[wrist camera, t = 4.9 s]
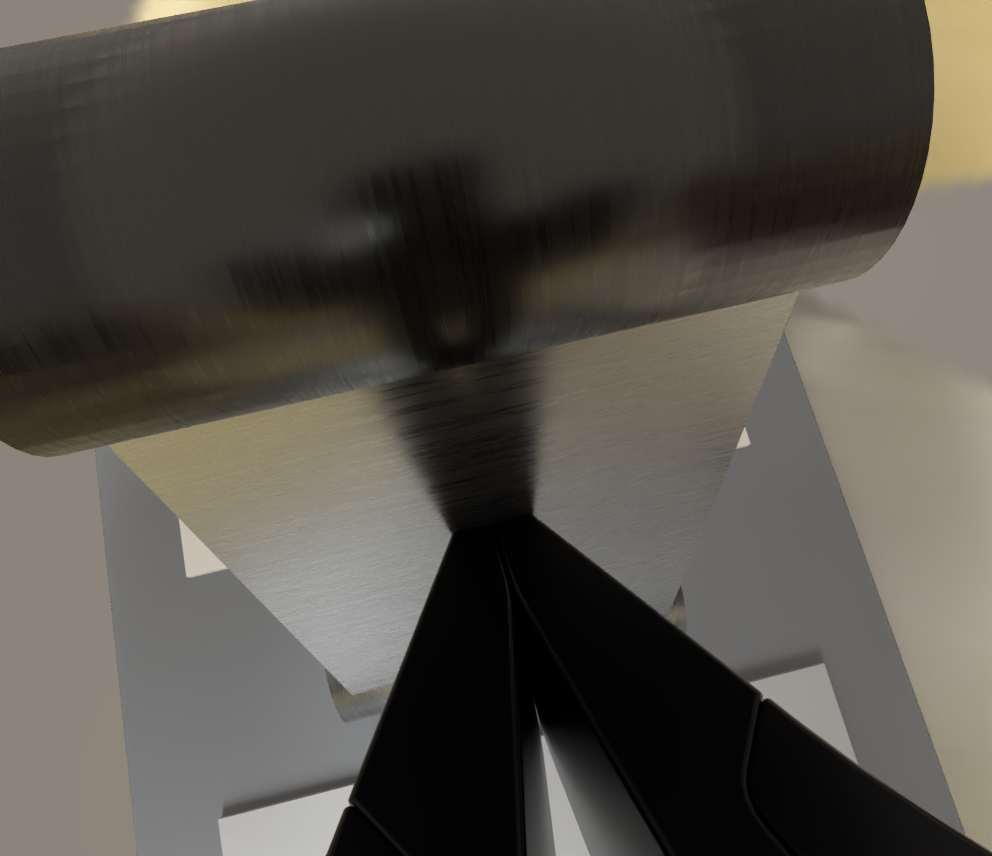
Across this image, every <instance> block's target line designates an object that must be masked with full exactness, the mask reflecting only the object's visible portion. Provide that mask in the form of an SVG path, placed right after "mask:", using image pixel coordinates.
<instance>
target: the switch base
mask: <svg viewBox="0 0 992 856" xmlns="http://www.w3.org/2000/svg"><path fill="white" fill-rule="evenodd" d="M95 457H96V465H97V475H98V485H99V495H100V505H101V514H102V524H103V533H104V542H105V552H106V561H107V572H108V581H109V590H110V600H111V609H112V619H113V629H114V639H115V648H116V658H117V668H118V677H119V686H120V696H121V706H122V715H123V725H124V734H125V744H126V752H127V753H126V754H127V763H128V773H129V782H130V791H131V802H132V811H133V821H134V830H135V839H136V850H137V856H326V854H327V851H328V849H329V846H330V844H331V841H332V839H333V836H334V833H335V831H336V828H337V826H338V823H339V821H340V818H341V815H342V813H343V810H344V809H345V808H346V807H347V806H350V805H349V802H348V799H349V796H350V794H351V791H352V788H353V786H354V783H355V781H356V778H357V776H358V773H359V770H360V768H361V765H362V763H363V760H364V758H365V755H366V753H367V750H368V747H369V745H370V742H371V740H372V737H373V735H374V732H375V730H376V727H377V724H378V722H379V719H380V717H381V715H377V716H373V717H369V718H365V719H361V720H357V721H353V722H349V723H345V722H343V720H342V719H341V718H340V716H339V714H338V712H337V710H336V707H335V705H334V702H333V699H332V696H331V693H330V689H329V685H328V681H327V677H326V672H325V667H324V666H323V665H322V664H321V663H320V662H319V661H318V660H317V659H316V658H315V657H314V656H313V655H312V654H311V653H310V652H309V651H308V650H307V649H306V648H305V647H304V646H303V645H302V644H301V643H300V642H299V640H298V639H297V638H296V637H295V636H294V635H293V634H292V633H291V632H290V631H289V630H288V629H287V628H286V627H285V626H284V625H283V624H282V623H281V622H280V621H279V620H278V619H277V618H276V617H275V616H274V615H273V614H272V613H271V612H270V611H269V610H268V609H267V608H266V607H265V606H264V605H263V604H262V603H261V602H260V601H259V600H258V599H257V598H256V597H255V596H254V595H253V593H252V592H251V591H250V590H249V589H248V588H247V587H246V586H245V585H244V584H243V583H242V582H241V581H240V580H239V579H238V578H237V577H236V576H235V575H234V574H233V573H232V572H231V571H230V570H229V569H228V568H227V567H226V566H225V565H224V564H223V563H222V562H221V561H220V560H219V559H218V558H217V557H216V556H215V555H214V554H213V553H212V552H211V551H210V550H209V549H208V548H207V547H206V545H205V544H204V543H203V542H202V541H201V540H200V539H199V538H198V537H197V536H196V535H195V534H194V533H193V532H192V531H191V530H190V529H189V528H188V527H187V526H186V525H185V524H184V523H183V522H182V521H181V520H180V519H179V518H178V517H177V516H176V515H175V514H174V513H173V512H172V511H171V510H170V509H169V508H168V507H167V506H166V505H165V504H164V503H163V502H162V501H161V500H160V498H159V497H158V496H157V495H156V494H155V493H154V492H153V491H152V490H151V489H150V488H149V487H148V486H147V485H146V484H145V483H144V482H143V481H142V480H141V479H140V478H139V477H138V476H137V475H136V474H135V473H134V472H133V471H132V470H131V469H130V468H129V467H128V466H127V465H126V464H125V463H124V462H123V461H122V460H121V459H120V458H119V457H118V456H117V455H116V454H115V453H114V452H113V450H112V449H111V448H110V447H109V446H108V445H106V446H102V447H97V448H95ZM681 588H682V593H683V597H684V603H685V610H686V621H687V627H686V634H687V635H689V636H690V637H691V638H692V639H694V640H695V641H696V642H698V643H699V644H700V645H701V646H703V647H704V648H705V649H707V650H708V651H709V652H710V653H712V654H713V655H714V656H716V657H717V658H718V659H719V660H721V661H722V662H723V663H725V664H726V665H727V666H728V667H730V668H731V669H732V670H734V671H735V672H736V673H737V674H739V675H740V676H741V677H743V678H744V679H745V680H746V681H748V682H749V683H750V684H752V685H753V686H754V687H755V688H757V689H758V690H759V691H761V693H762V694H763V700H764V699H766V698H769V699H771V700H773V701H774V702H775V703H777V704H778V705H779V706H780V707H782V708H783V709H784V710H785V711H787V712H788V713H789V714H791V715H792V716H793V717H794V718H796V719H797V720H798V721H800V722H801V723H802V724H803V725H805V726H806V727H807V728H809V729H810V730H812V731H813V732H814V733H816V734H817V735H818V736H820V737H821V738H822V739H824V740H825V741H826V742H828V743H829V744H831V745H832V746H833V747H835V748H836V749H837V750H839V751H840V752H841V753H843V754H844V755H846V756H847V757H848V758H850V759H851V760H852V761H854V762H855V763H856V764H858V765H859V766H860V767H862V768H863V769H865V770H866V771H868V772H869V773H871V774H872V775H874V776H875V777H877V778H878V779H880V780H881V781H883V782H884V783H886V784H887V785H889V786H890V787H892V788H893V789H895V790H896V791H898V792H899V793H901V794H902V795H904V796H905V797H907V798H909V799H910V800H912V801H913V802H915V803H916V804H918V805H919V806H921V807H922V808H924V809H925V810H927V811H928V812H930V813H931V814H933V815H934V816H936V817H937V818H939V819H941V820H942V821H944V822H945V823H947V824H948V825H950V826H952V827H953V828H955V829H956V830H958V831H960V832H961V833H963V834H964V835H965V832H964V829H963V827H962V824H961V821H960V818H959V816H958V813H957V810H956V807H955V805H954V802H953V799H952V796H951V793H950V791H949V788H948V785H947V782H946V780H945V777H944V774H943V771H942V769H941V766H940V763H939V760H938V757H937V755H936V752H935V749H934V746H933V744H932V741H931V738H930V735H929V733H928V730H927V727H926V724H925V721H924V719H923V716H922V713H921V710H920V708H919V705H918V702H917V699H916V697H915V694H914V691H913V688H912V685H911V683H910V680H909V677H908V674H907V672H906V669H905V666H904V663H903V661H902V658H901V655H900V652H899V649H898V647H897V644H896V641H895V638H894V636H893V633H892V630H891V627H890V624H889V622H888V619H887V616H886V613H885V611H884V608H883V605H882V602H881V600H880V597H879V594H878V591H877V588H876V586H875V583H874V580H873V577H872V575H871V572H870V569H869V566H868V564H867V561H866V558H865V555H864V552H863V550H862V547H861V544H860V541H859V539H858V536H857V533H856V530H855V528H854V525H853V522H852V519H851V516H850V514H849V511H848V508H847V505H846V503H845V500H844V497H843V494H842V492H841V489H840V486H839V483H838V480H837V478H836V475H835V472H834V469H833V467H832V464H831V461H830V458H829V456H828V453H827V450H826V447H825V444H824V442H823V439H822V436H821V433H820V431H819V428H818V425H817V422H816V420H815V417H814V414H813V411H812V408H811V406H810V403H809V400H808V397H807V395H806V392H805V389H804V386H803V384H802V381H801V378H800V375H799V372H798V370H797V367H796V364H795V361H794V359H793V356H792V353H791V350H790V348H789V345H788V342H787V339H786V336H785V334H784V331H783V334H782V336H781V339H780V341H779V343H778V346H777V348H776V351H775V353H774V356H773V358H772V361H771V363H770V366H769V368H768V371H767V373H766V376H765V378H764V380H763V383H762V385H761V388H760V390H759V393H758V395H757V398H756V400H755V403H754V405H753V408H752V410H751V412H750V415H749V417H748V420H747V422H746V425H745V427H744V430H743V432H742V435H741V437H740V440H739V442H738V445H737V447H736V449H735V452H734V454H733V457H732V459H731V462H730V464H729V467H728V469H727V472H726V474H725V477H724V479H723V481H722V484H721V486H720V489H719V491H718V494H717V496H716V499H715V501H714V504H713V506H712V509H711V511H710V514H709V516H708V518H707V521H706V523H705V526H704V528H703V531H702V533H701V536H700V538H699V541H698V543H697V546H696V548H695V550H694V553H693V555H692V558H691V560H690V563H689V565H688V568H687V570H686V573H685V575H684V578H683V580H682V582H681ZM535 708H536V707H535ZM536 713H537V711H536ZM537 718H538V714H537ZM538 723H539V728H540V734H541V740H542V747H543V753H544V762H545V770H546V778H547V786H548V795H549V803H550V811H551V819H552V828H553V836H554V844H555V852H556V856H590V854H589V852H588V849H587V846H586V844H585V841H584V839H583V836H582V834H581V831H580V828H579V826H578V823H577V821H576V818H575V816H574V813H573V810H572V808H571V805H570V803H569V800H568V798H567V795H566V792H565V790H564V787H563V785H562V782H561V780H560V777H559V774H558V772H557V769H556V767H555V764H554V762H553V759H552V756H551V754H550V751H549V748H548V746H547V743H546V740H545V737H544V734H543V731H542V728H541V725H540V721H539V718H538Z"/></svg>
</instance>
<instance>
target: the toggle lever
mask: <svg viewBox="0 0 992 856" xmlns="http://www.w3.org/2000/svg"><path fill="white" fill-rule="evenodd" d="M933 103H934V64H933V51H932V42H931V33H930V26H929V21H928V16H927V11H926V6H925V2H924V0H255V1H250V2H245V3H239V4H234V5H229V6H223V7H218V8H213V9H207V10H202V11H196V12H191V13H186V14H180V15H175V16H170V17H164V18H159V19H153V20H148V21H143V22H137V23H132V24H127V25H122V26H116V27H111V28H105V29H100V30H95V31H89V32H84V33H79V34H73V35H68V36H62V37H57V38H52V39H47V40H41V41H36V42H30V43H26V44H19V45H14V46H9V47H4V48H0V441H2V442H4V443H6V444H8V445H9V446H11V447H13V448H15V449H17V450H20V451H22V452H25V453H28V454H31V455H35V456H42V457H54V456H61V455H66V454H70V453H75V452H79V451H84V450H88V449H93V448H97V447H102V446H106V445H108V446H109V447H110V448H111V449H112V450H113V452H114V453H115V454H116V455H117V456H118V457H119V458H120V459H121V460H122V461H123V462H124V463H125V464H126V465H127V466H128V467H129V468H130V469H131V470H132V471H133V472H134V473H135V474H136V475H137V476H138V477H139V478H140V479H141V480H142V481H143V482H144V483H145V484H146V485H147V486H148V487H149V488H150V489H151V490H152V491H153V492H154V493H155V494H156V495H157V496H158V497H159V498H160V500H161V501H162V502H163V503H164V504H165V505H166V506H167V507H168V508H169V509H170V510H171V511H172V512H173V513H174V514H175V515H176V516H177V517H178V518H179V519H180V520H181V521H182V522H183V523H184V524H185V525H186V526H187V527H188V528H189V529H190V530H191V531H192V532H193V533H194V534H195V535H196V536H197V537H198V538H199V539H200V540H201V541H202V542H203V543H204V544H205V545H206V547H207V548H208V549H209V550H210V551H211V552H212V553H213V554H214V555H215V556H216V557H217V558H218V559H219V560H220V561H221V562H222V563H223V564H224V565H225V566H226V567H227V568H228V569H229V570H230V571H231V572H232V573H233V574H234V575H235V576H236V577H237V578H238V579H239V580H240V581H241V582H242V583H243V584H244V585H245V586H246V587H247V588H248V589H249V590H250V591H251V592H252V593H253V595H254V596H255V597H256V598H257V599H258V600H259V601H260V602H261V603H262V604H263V605H264V606H265V607H266V608H267V609H268V610H269V611H270V612H271V613H272V614H273V615H274V616H275V617H276V618H277V619H278V620H279V621H280V622H281V623H282V624H283V625H284V626H285V627H286V628H287V629H288V630H289V631H290V632H291V633H292V634H293V635H294V636H295V637H296V638H297V639H298V640H299V642H300V643H301V644H302V645H303V646H304V647H305V648H306V649H307V650H308V651H309V652H310V653H311V654H312V655H313V656H314V657H315V658H316V659H317V660H318V661H319V662H320V663H321V664H322V665H323V666H324V667H325V672H326V677H327V681H328V685H329V689H330V693H331V696H332V699H333V702H334V705H335V707H336V710H337V712H338V714H339V716H340V718H341V719H342V720H343V722H345V723H349V722H353V721H357V720H361V719H365V718H369V717H373V716H377V715H381V714H382V712H383V709H384V707H385V704H386V701H387V699H388V696H389V694H390V691H391V689H392V686H393V684H394V681H395V678H396V676H397V673H398V671H399V668H400V666H401V663H402V661H403V658H404V655H405V653H406V650H407V648H408V645H409V643H410V640H411V637H412V635H413V632H414V630H415V627H416V625H417V622H418V620H419V617H420V614H421V612H422V609H423V607H424V604H425V602H426V599H427V597H428V594H429V591H430V589H431V586H432V584H433V581H434V579H435V576H436V574H437V571H438V568H439V566H440V563H441V561H442V558H443V556H444V553H445V551H446V548H447V545H448V543H449V540H450V538H451V536H452V534H453V533H454V532H456V531H460V530H464V529H468V528H472V527H477V526H481V525H486V524H489V525H491V526H492V527H493V529H494V525H495V523H497V522H499V521H502V520H506V519H510V518H515V517H519V516H523V515H527V514H532V515H534V516H535V517H537V518H538V519H539V520H541V521H542V522H543V523H544V524H546V525H547V526H548V527H550V528H551V529H552V530H553V531H555V532H556V533H557V534H559V535H560V536H561V537H562V538H564V539H565V540H566V541H568V542H569V543H570V544H571V545H573V546H574V547H575V548H577V549H578V550H579V551H580V552H582V553H583V554H584V555H586V556H587V557H588V558H589V559H591V560H592V561H593V562H595V563H596V564H597V565H598V566H600V567H601V568H602V569H604V570H605V571H606V572H608V573H609V574H610V575H611V576H613V577H614V578H615V579H617V580H618V581H619V582H620V583H622V584H623V585H624V586H626V587H627V588H628V589H629V590H631V591H632V592H633V593H635V594H636V595H637V596H638V597H640V598H641V599H642V600H644V601H645V602H646V603H647V604H649V605H650V606H651V607H653V608H654V609H655V610H656V611H658V612H659V613H660V614H662V615H663V616H664V617H665V618H667V619H668V620H669V621H671V622H672V623H673V624H674V625H676V626H677V627H678V628H680V629H681V630H682V631H683V632H685V633H686V627H687V621H686V610H685V603H684V597H683V593H682V588H681V582H682V580H683V578H684V575H685V573H686V570H687V568H688V565H689V563H690V560H691V558H692V555H693V553H694V550H695V548H696V546H697V543H698V541H699V538H700V536H701V533H702V531H703V528H704V526H705V523H706V521H707V518H708V516H709V514H710V511H711V509H712V506H713V504H714V501H715V499H716V496H717V494H718V491H719V489H720V486H721V484H722V481H723V479H724V477H725V474H726V472H727V469H728V467H729V464H730V462H731V459H732V457H733V454H734V452H735V449H736V447H737V445H738V442H739V440H740V437H741V435H742V432H743V430H744V427H745V425H746V422H747V420H748V417H749V415H750V412H751V410H752V408H753V405H754V403H755V400H756V398H757V395H758V393H759V390H760V388H761V385H762V383H763V380H764V378H765V376H766V373H767V371H768V368H769V366H770V363H771V361H772V358H773V356H774V353H775V351H776V348H777V346H778V343H779V341H780V339H781V336H782V334H783V331H784V329H785V326H786V324H787V321H788V319H789V316H790V314H791V311H792V309H793V307H794V304H795V302H796V299H797V297H798V294H799V292H800V291H803V290H807V289H812V288H816V287H821V286H825V285H830V284H834V283H838V282H843V281H847V280H849V279H853V278H856V277H858V276H859V275H861V274H863V273H864V272H866V271H868V270H869V269H870V268H871V267H873V266H874V265H875V264H876V263H877V262H878V261H879V260H880V259H881V258H882V257H883V256H884V254H886V252H887V251H888V250H889V249H890V247H891V246H892V245H893V243H894V242H895V240H896V238H897V237H898V235H899V233H900V231H901V230H902V228H903V227H904V225H905V223H906V220H907V218H908V216H909V214H910V211H911V209H912V207H913V205H914V202H915V199H916V196H917V193H918V190H919V187H920V184H921V181H922V177H923V173H924V168H925V164H926V160H927V155H928V150H929V143H930V136H931V129H932V121H933Z"/></svg>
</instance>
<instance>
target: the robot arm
mask: <svg viewBox="0 0 992 856" xmlns="http://www.w3.org/2000/svg"><path fill="white" fill-rule="evenodd" d="M535 707H536V708H535ZM536 711H537V713H536ZM537 714H538V718H539V721H540V725H541V728H542V731H543V734H544V737H545V740H546V743H547V746H548V748H549V751H550V754H551V756H552V759H553V762H554V764H555V767H556V769H557V772H558V774H559V777H560V780H561V782H562V785H563V787H564V790H565V792H566V795H567V798H568V800H569V803H570V805H571V808H572V810H573V813H574V816H575V818H576V821H577V823H578V826H579V828H580V831H581V834H582V836H583V839H584V841H585V844H586V846H587V849H588V852H589V854H590V856H992V852H991V851H990V850H988V849H986V848H985V847H983V846H982V845H980V844H978V843H977V842H975V841H974V840H972V839H971V838H969V837H967V836H966V835H964V834H963V833H961V832H960V831H958V830H956V829H955V828H953V827H952V826H950V825H948V824H947V823H945V822H944V821H942V820H941V819H939V818H937V817H936V816H934V815H933V814H931V813H930V812H928V811H927V810H925V809H924V808H922V807H921V806H919V805H918V804H916V803H915V802H913V801H912V800H910V799H909V798H907V797H905V796H904V795H902V794H901V793H899V792H898V791H896V790H895V789H893V788H892V787H890V786H889V785H887V784H886V783H884V782H883V781H881V780H880V779H878V778H877V777H875V776H874V775H872V774H871V773H869V772H868V771H866V770H865V769H863V768H862V767H860V766H859V765H858V764H856V763H855V762H854V761H852V760H851V759H850V758H848V757H847V756H846V755H844V754H843V753H841V752H840V751H839V750H837V749H836V748H835V747H833V746H832V745H831V744H829V743H828V742H826V741H825V740H824V739H822V738H821V737H820V736H818V735H817V734H816V733H814V732H813V731H812V730H810V729H809V728H807V727H806V726H805V725H803V724H802V723H801V722H800V721H798V720H797V719H796V718H794V717H793V716H792V715H791V714H789V713H788V712H787V711H785V710H784V709H783V708H782V707H780V706H779V705H778V704H777V703H775V702H774V701H773V700H771V699H769V698H766V699H764V700H763V694H762V693H761V691H759V690H758V689H757V688H755V687H754V686H753V685H752V684H750V683H749V682H748V681H746V680H745V679H744V678H743V677H741V676H740V675H739V674H737V673H736V672H735V671H734V670H732V669H731V668H730V667H728V666H727V665H726V664H725V663H723V662H722V661H721V660H719V659H718V658H717V657H716V656H714V655H713V654H712V653H710V652H709V651H708V650H707V649H705V648H704V647H703V646H701V645H700V644H699V643H698V642H696V641H695V640H694V639H692V638H691V637H690V636H689V635H687V634H686V633H685V632H683V631H682V630H681V629H680V628H678V627H677V626H676V625H674V624H673V623H672V622H671V621H669V620H668V619H667V618H665V617H664V616H663V615H662V614H660V613H659V612H658V611H656V610H655V609H654V608H653V607H651V606H650V605H649V604H647V603H646V602H645V601H644V600H642V599H641V598H640V597H638V596H637V595H636V594H635V593H633V592H632V591H631V590H629V589H628V588H627V587H626V586H624V585H623V584H622V583H620V582H619V581H618V580H617V579H615V578H614V577H613V576H611V575H610V574H609V573H608V572H606V571H605V570H604V569H602V568H601V567H600V566H598V565H597V564H596V563H595V562H593V561H592V560H591V559H589V558H588V557H587V556H586V555H584V554H583V553H582V552H580V551H579V550H578V549H577V548H575V547H574V546H573V545H571V544H570V543H569V542H568V541H566V540H565V539H564V538H562V537H561V536H560V535H559V534H557V533H556V532H555V531H553V530H552V529H551V528H550V527H548V526H547V525H546V524H544V523H543V522H542V521H541V520H539V519H538V518H537V517H535V516H534V515H532V514H527V515H523V516H519V517H515V518H510V519H506V520H502V521H499V522H497V523H495V525H494V529H493V527H492V526H491V525H489V524H486V525H481V526H477V527H472V528H468V529H464V530H460V531H456V532H454V533H453V534H452V536H451V538H450V540H449V543H448V545H447V548H446V551H445V553H444V556H443V558H442V561H441V563H440V566H439V568H438V571H437V574H436V576H435V579H434V581H433V584H432V586H431V589H430V591H429V594H428V597H427V599H426V602H425V604H424V607H423V609H422V612H421V614H420V617H419V620H418V622H417V625H416V627H415V630H414V632H413V635H412V637H411V640H410V643H409V645H408V648H407V650H406V653H405V655H404V658H403V661H402V663H401V666H400V668H399V671H398V673H397V676H396V678H395V681H394V684H393V686H392V689H391V691H390V694H389V696H388V699H387V701H386V704H385V707H384V709H383V712H382V714H381V717H380V719H379V722H378V724H377V727H376V730H375V732H374V735H373V737H372V740H371V742H370V745H369V747H368V750H367V753H366V755H365V758H364V760H363V763H362V765H361V768H360V770H359V773H358V776H357V778H356V781H355V783H354V786H353V788H352V791H351V794H350V796H349V799H348V802H349V805H350V806H347V807H346V808H345V809H344V810H343V813H342V815H341V818H340V821H339V823H338V826H337V828H336V831H335V833H334V836H333V839H332V841H331V844H330V846H329V849H328V851H327V854H326V856H556V852H555V844H554V836H553V828H552V819H551V811H550V803H549V795H548V786H547V778H546V770H545V762H544V753H543V747H542V740H541V734H540V728H539V723H538V718H537Z"/></svg>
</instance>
